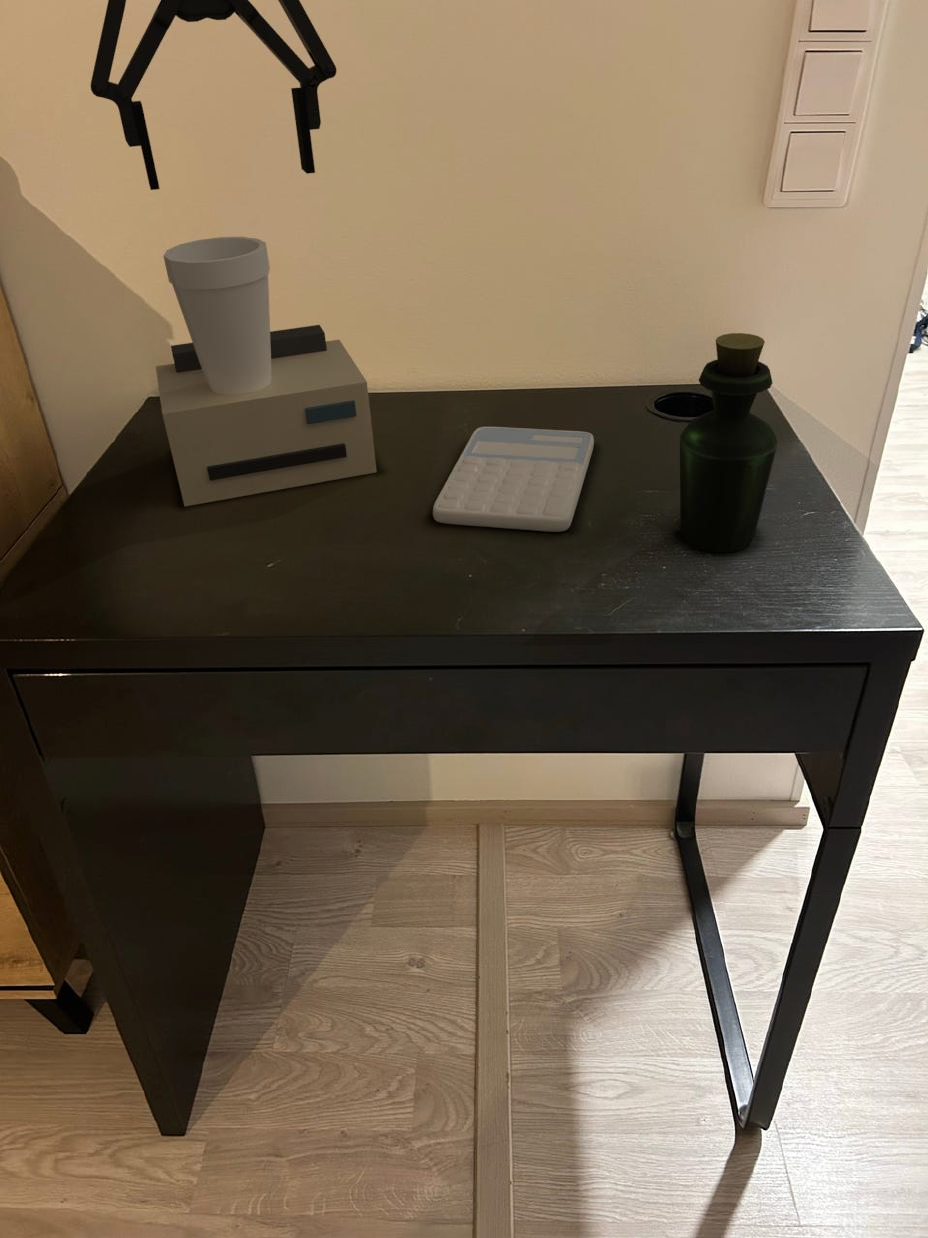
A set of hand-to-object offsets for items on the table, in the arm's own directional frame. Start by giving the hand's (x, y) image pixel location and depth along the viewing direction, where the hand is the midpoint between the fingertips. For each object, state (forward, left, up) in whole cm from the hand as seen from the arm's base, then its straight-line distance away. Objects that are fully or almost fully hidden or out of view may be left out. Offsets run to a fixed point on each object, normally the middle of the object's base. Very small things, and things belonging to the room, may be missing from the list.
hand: (232, 179), depth 85 cm
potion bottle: (+35, -28, -29) cm, 54 cm away
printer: (-1, +4, -29) cm, 29 cm away
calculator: (+22, -11, -29) cm, 39 cm away
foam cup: (-3, +2, -19) cm, 20 cm away
